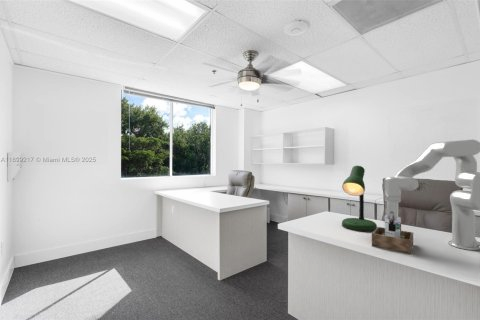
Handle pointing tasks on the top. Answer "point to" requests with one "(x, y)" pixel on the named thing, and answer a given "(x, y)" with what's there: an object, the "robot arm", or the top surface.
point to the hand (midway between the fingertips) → (393, 229)
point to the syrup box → (398, 228)
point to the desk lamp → (357, 188)
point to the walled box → (393, 241)
